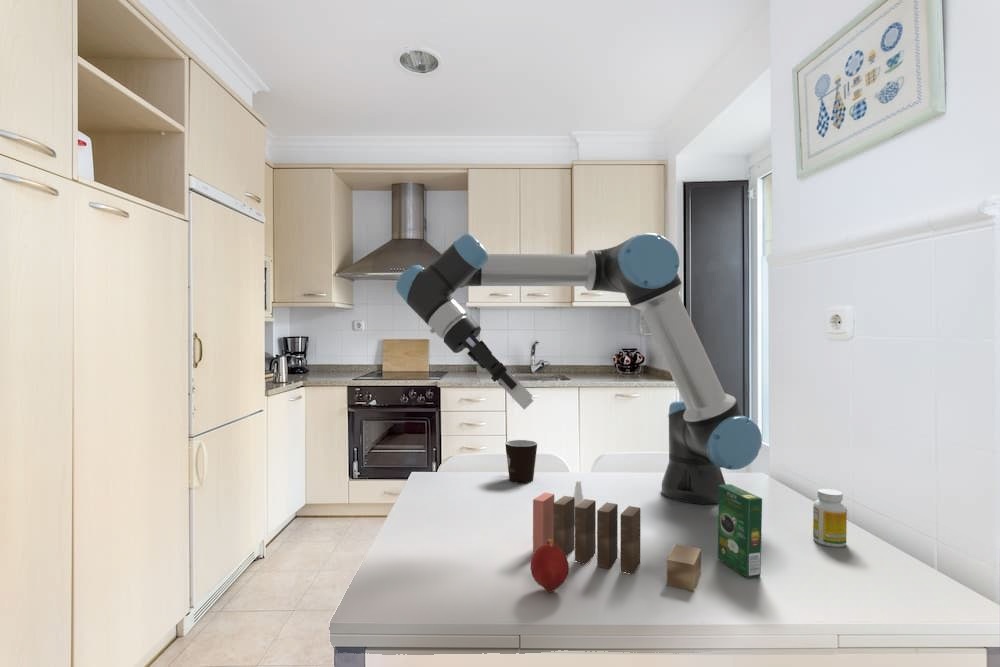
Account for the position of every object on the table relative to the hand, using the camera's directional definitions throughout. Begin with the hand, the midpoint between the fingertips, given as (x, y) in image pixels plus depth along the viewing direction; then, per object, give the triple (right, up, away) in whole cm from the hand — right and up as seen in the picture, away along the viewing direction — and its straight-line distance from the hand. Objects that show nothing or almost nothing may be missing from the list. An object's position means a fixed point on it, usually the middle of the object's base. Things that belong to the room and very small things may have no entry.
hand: (528, 403), depth 105 cm
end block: (+24, -26, -19) cm, 40 cm away
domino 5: (+16, -26, -15) cm, 34 cm away
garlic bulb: (+11, -26, +10) cm, 30 cm away
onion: (+2, -26, -23) cm, 35 cm away
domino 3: (+9, -26, -11) cm, 30 cm away
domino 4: (+13, -26, -13) cm, 32 cm away
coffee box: (+35, -26, -15) cm, 46 cm away
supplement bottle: (+57, -26, -4) cm, 63 cm away
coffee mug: (0, -26, +40) cm, 48 cm away
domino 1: (+2, -26, -7) cm, 27 cm away
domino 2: (+6, -26, -9) cm, 28 cm away
